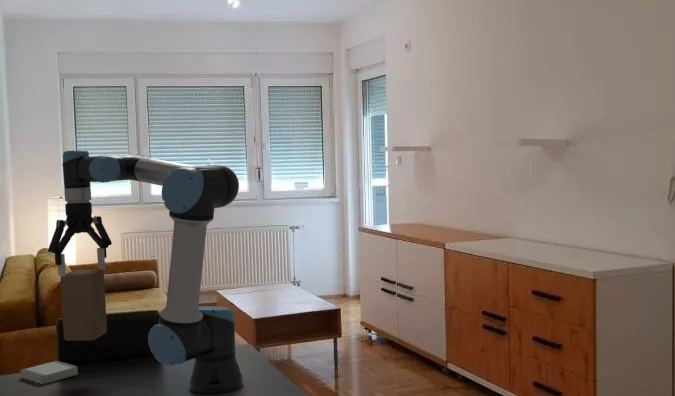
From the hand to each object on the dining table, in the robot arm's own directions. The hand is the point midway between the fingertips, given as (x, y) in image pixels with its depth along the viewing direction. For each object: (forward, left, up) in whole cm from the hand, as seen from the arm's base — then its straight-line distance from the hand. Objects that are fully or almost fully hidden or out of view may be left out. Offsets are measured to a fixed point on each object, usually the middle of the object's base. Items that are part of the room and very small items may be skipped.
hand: (82, 272), depth 230 cm
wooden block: (0, 0, -20) cm, 20 cm away
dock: (+13, +6, -33) cm, 35 cm away
